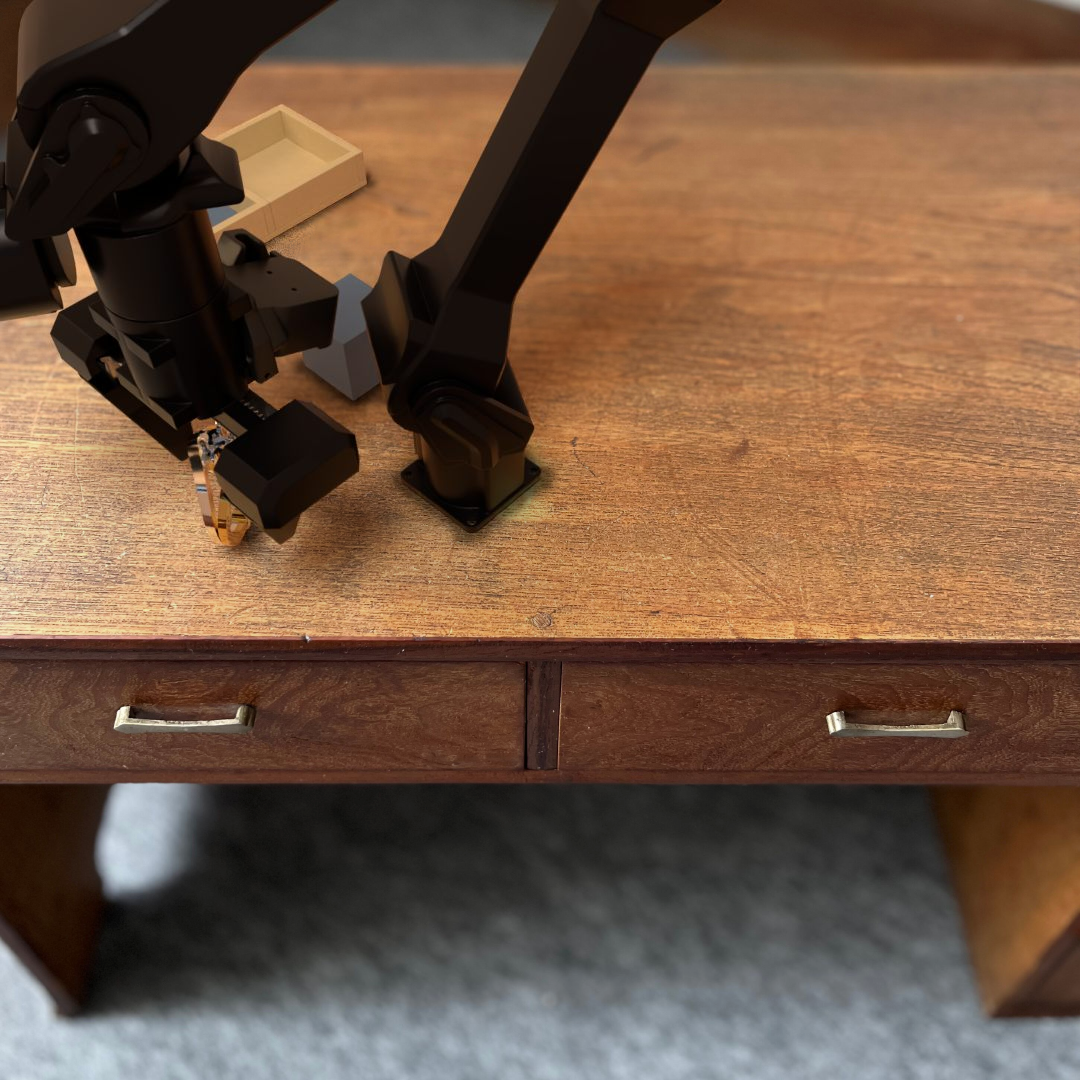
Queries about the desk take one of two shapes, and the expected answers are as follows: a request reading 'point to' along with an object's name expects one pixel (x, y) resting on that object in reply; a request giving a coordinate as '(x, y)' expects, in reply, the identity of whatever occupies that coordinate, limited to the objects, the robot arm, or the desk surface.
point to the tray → (286, 173)
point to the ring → (211, 446)
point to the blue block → (347, 344)
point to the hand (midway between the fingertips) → (235, 496)
